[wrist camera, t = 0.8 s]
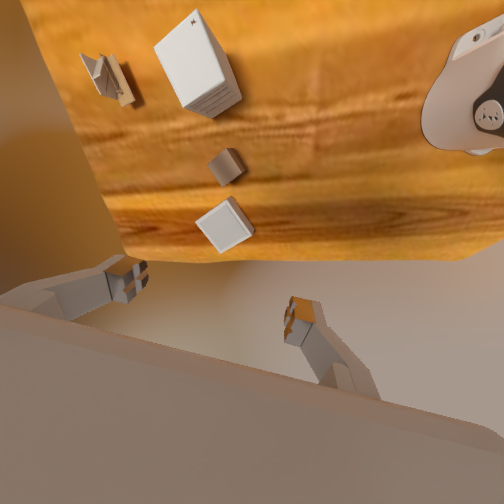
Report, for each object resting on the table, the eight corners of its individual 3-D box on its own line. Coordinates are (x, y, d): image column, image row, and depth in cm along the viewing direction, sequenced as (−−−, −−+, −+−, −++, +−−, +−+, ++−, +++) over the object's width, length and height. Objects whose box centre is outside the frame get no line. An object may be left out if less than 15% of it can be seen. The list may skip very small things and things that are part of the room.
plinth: (231, 195, 45) (226, 199, 41) (254, 229, 48) (251, 235, 44) (201, 216, 48) (194, 222, 45) (224, 246, 52) (220, 254, 48)
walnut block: (233, 148, 40) (226, 148, 35) (247, 169, 41) (241, 172, 36) (216, 162, 42) (206, 164, 36) (229, 182, 43) (222, 187, 38)
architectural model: (127, 60, 36) (93, 41, 29) (146, 104, 39) (119, 95, 32) (114, 68, 37) (77, 51, 30) (133, 110, 40) (104, 103, 33)
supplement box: (192, 77, 35) (150, 44, 24) (226, 52, 33) (197, 3, 22) (211, 120, 38) (181, 109, 27) (243, 100, 36) (226, 79, 25)
